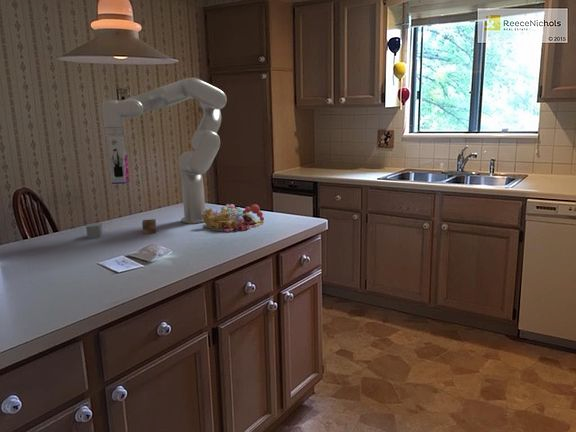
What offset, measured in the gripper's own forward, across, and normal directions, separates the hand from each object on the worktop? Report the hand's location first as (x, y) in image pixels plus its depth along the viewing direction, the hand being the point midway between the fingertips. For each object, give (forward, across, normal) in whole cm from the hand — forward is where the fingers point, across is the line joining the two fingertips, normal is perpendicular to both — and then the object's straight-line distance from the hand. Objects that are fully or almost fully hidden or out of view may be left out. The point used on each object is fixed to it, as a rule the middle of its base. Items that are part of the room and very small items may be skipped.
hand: (120, 175), depth 200 cm
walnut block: (+25, -3, -10) cm, 27 cm away
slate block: (+24, -3, +12) cm, 28 cm away
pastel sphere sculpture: (+25, -2, -45) cm, 51 cm away
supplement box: (+3, 0, 0) cm, 3 cm away
